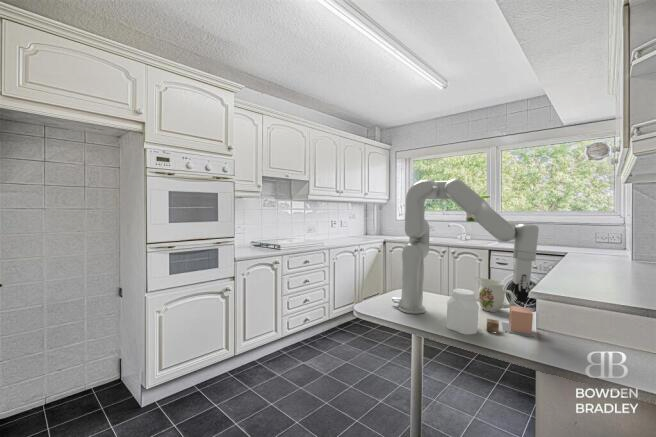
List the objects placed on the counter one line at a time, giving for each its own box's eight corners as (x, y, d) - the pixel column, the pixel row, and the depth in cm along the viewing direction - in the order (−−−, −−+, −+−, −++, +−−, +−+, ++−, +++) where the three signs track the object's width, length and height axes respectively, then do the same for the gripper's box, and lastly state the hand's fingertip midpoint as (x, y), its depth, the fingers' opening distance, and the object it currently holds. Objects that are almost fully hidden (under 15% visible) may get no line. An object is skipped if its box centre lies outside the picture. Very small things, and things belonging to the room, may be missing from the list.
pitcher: (508, 318, 139) (510, 287, 138) (467, 307, 152) (469, 279, 152) (517, 313, 146) (519, 284, 145) (478, 303, 160) (479, 276, 159)
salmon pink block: (510, 330, 125) (511, 310, 124) (508, 324, 131) (510, 305, 131) (531, 334, 122) (532, 313, 121) (528, 327, 128) (530, 308, 128)
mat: (503, 331, 124) (503, 330, 124) (501, 323, 133) (501, 322, 133) (533, 337, 120) (533, 336, 120) (529, 327, 129) (529, 326, 129)
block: (486, 331, 124) (487, 321, 124) (486, 328, 128) (487, 318, 128) (498, 334, 123) (498, 323, 122) (497, 330, 126) (498, 320, 126)
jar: (441, 326, 128) (443, 290, 127) (453, 321, 134) (455, 286, 133) (469, 336, 119) (472, 297, 118) (481, 330, 125) (483, 293, 124)
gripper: (511, 251, 134) (507, 290, 135) (515, 257, 118) (511, 302, 120) (532, 253, 131) (528, 294, 132) (539, 260, 115) (534, 306, 117)
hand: (520, 298), depth 126 cm, fingers open, 9 cm apart
